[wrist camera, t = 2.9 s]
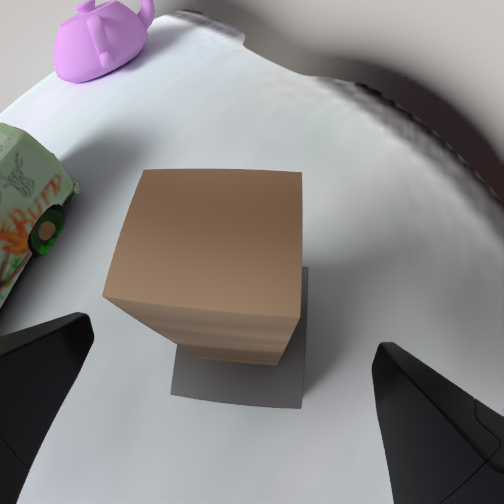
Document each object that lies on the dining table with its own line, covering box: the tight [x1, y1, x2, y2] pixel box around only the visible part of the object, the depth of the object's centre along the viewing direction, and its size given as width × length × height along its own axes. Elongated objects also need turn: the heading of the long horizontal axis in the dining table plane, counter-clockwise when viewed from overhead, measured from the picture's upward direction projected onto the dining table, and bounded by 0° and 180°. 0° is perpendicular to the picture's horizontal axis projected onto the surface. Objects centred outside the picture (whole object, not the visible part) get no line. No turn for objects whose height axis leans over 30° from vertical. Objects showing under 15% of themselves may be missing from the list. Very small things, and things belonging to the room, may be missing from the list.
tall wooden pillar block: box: [102, 169, 308, 409], centre depth 11 cm, size 7×6×13 cm
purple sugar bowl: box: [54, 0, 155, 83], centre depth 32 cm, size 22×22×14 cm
